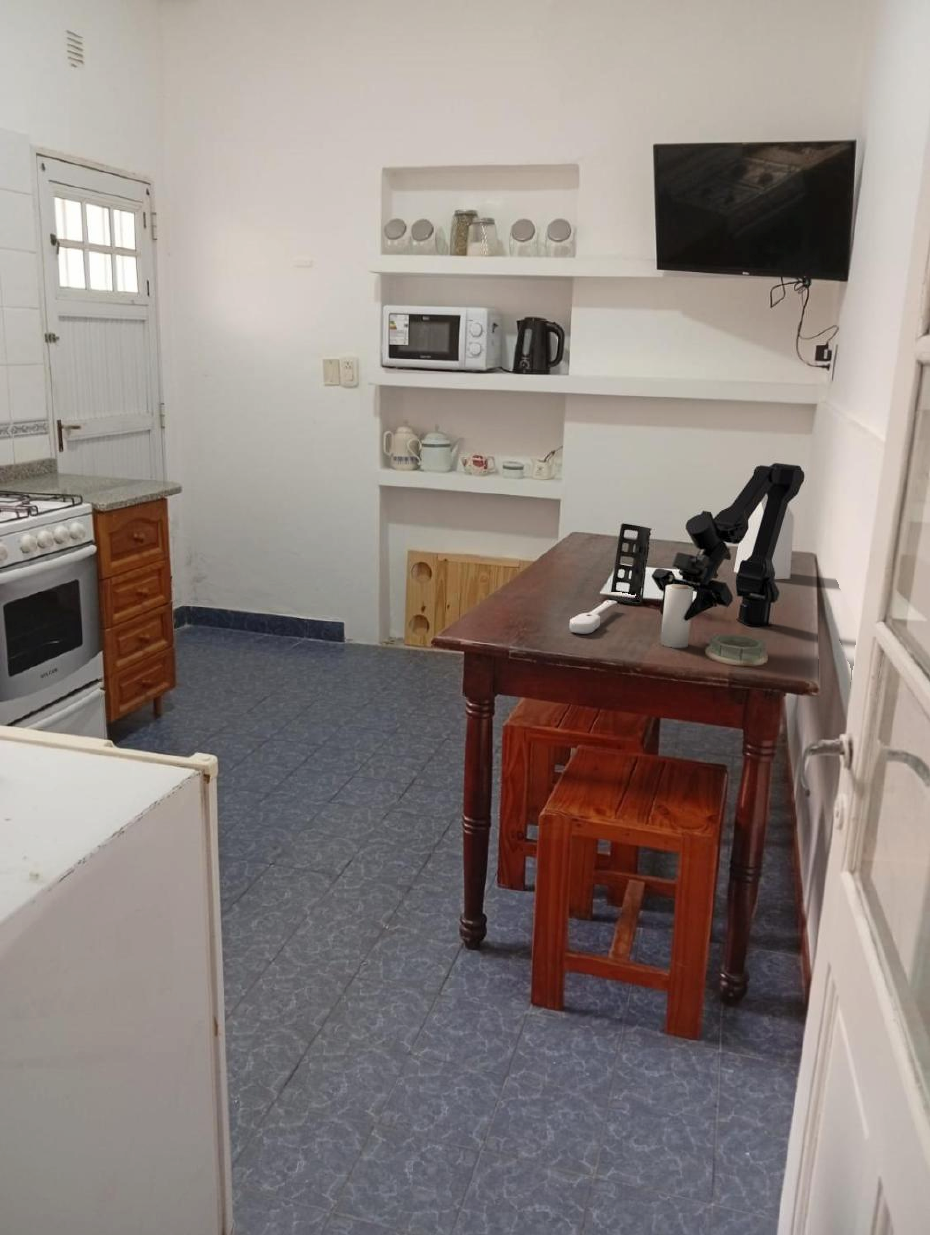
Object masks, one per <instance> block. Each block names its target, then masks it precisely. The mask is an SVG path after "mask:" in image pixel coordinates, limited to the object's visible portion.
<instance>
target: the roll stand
mask: <svg viewBox="0 0 930 1235" xmlns="http://www.w3.org/2000/svg"><path fill="white" fill-rule="evenodd" d="M704 652H705V653H704V654H705V656H706V657H707V658H708V659H710V660H713V661H715V662H718V663H721V664H725V665H732V666H739V667H740V666H741V667H756V666H761V665H765V664H767V662H768V660H769V659H768V658H769V656H768V654H767V652H766V642H765V641H763V640H760V639H758V638H756V637H753V636H748V635H742V634H733V633H732V634H731V633H728V634H727V633H726V634H715V635H713V636H712V637H711V638H710V639H709V645H708V646H706V648H705V651H704ZM764 663H765V664H764Z"/></svg>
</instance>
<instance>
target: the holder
mask: <svg viewBox="0 0 930 1235" xmlns="http://www.w3.org/2000/svg"><path fill="white" fill-rule="evenodd" d="M626 531H632V532H633V531H634V532H636V533H637V535H636V539H632V538H626V537H625V532H626ZM651 531H652V528H651V527H646V526H642V525H636V524H630V523H621V524H620V529H619V535H618V542H617V549H616V553H615V554H616V556H615V562H614V567H613V568H614V570H613V574H612V581H611V588H610V589H611V590H610V593H611V592H622V593H628V594H631V595H635V594H636V596H635V598H634V599H629V598H627V597H620V596H616V597H614V596H610V595H609V599H611V600H612V601H616V602H619V603H622V604H626V605H628V606H629V605H630V606H636V607H642V606H643V603H644V602H643V601H644V592H645V591H644V590H645V583H646V582H645V580H646V572H647V570H646V569H647V563H648V558H649V550H650V546H649V545H650V540H651V539H650V538H651V535H652V533H651ZM624 544H628V547H627V551H624V550H623V545H624ZM634 546H635V547H634ZM622 557H626V558H632V559H633V560H632V565H627V564H623V563H621V558H622ZM620 570H623V572H624V573H623V577H619V571H620ZM630 572H631V574H630ZM618 583H621V584H628V585H629V586H628V591H624V590H623V591H622V590H618V589H617V584H618ZM636 600H639V601H636ZM633 601H634V602H633Z"/></svg>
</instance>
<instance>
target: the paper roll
mask: <svg viewBox="0 0 930 1235" xmlns="http://www.w3.org/2000/svg"><path fill="white" fill-rule="evenodd" d="M694 592H695V591H694V588H693V587H690V586H686V585H677V584H672V585H667V586H666V590H665V601H664V611H663V615H662V620H661V621H662V622H661V633H660V642H659V643H660V645H662V646H663V645H664V647H667V648H671V647H672V649H683V648H684V649H685V648H687V647H689V636H690V627H691V619H689V620H688V621H685V619H684V616H685V614H686V612H687V610H688V609H689V607H690V606H691V604H692V602H693V601H694V599H693V597H694Z"/></svg>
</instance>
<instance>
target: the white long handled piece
mask: <svg viewBox="0 0 930 1235" xmlns="http://www.w3.org/2000/svg"><path fill="white" fill-rule="evenodd" d="M617 603H618V601H616V600H613V599H611V600H610V599H607V600H604V601H603V603H602V604H600V605H598V607H595V608H594V609H592V610H591V611H590V612H583V613H579V614H577V615H576V616H574V617H572V618H570V619H569V630H570V632H571V633H574V634H575V633H576V634H581V635H583V634H584V635H586V634H590V633H594V631H595V630H596V629H599V627H600V624H601V616H600V615H599V614H600V613H602V612H604V611H605V610H607V609H608V608H610V607H611V606H613V605H616V604H617Z"/></svg>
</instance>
